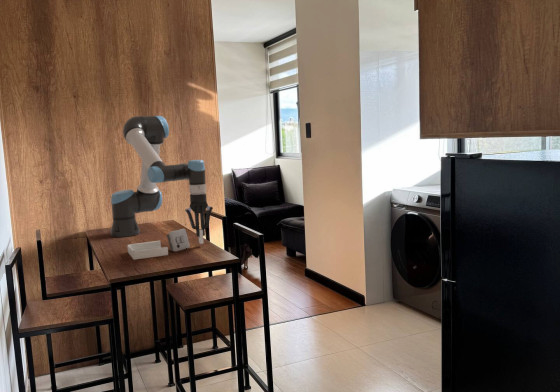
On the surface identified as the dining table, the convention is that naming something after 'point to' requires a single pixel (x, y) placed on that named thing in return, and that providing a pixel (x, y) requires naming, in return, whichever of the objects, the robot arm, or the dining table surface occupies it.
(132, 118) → the robot arm
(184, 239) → the electrical switch
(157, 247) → the u-shaped bracket
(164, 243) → the dining table surface
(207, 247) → the dining table surface
